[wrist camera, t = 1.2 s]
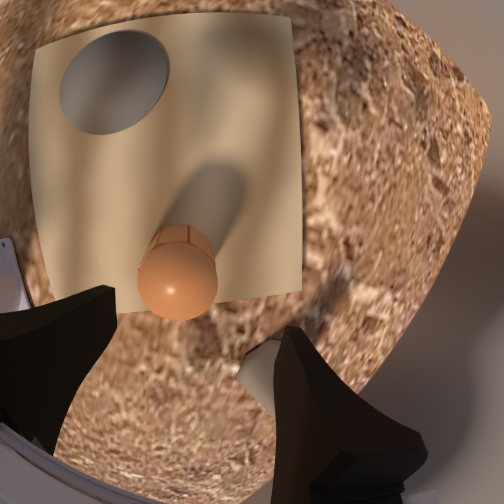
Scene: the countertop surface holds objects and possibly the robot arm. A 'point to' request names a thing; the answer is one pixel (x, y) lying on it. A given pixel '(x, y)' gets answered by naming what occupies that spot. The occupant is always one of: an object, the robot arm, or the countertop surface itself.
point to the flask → (260, 374)
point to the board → (168, 151)
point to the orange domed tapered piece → (178, 273)
